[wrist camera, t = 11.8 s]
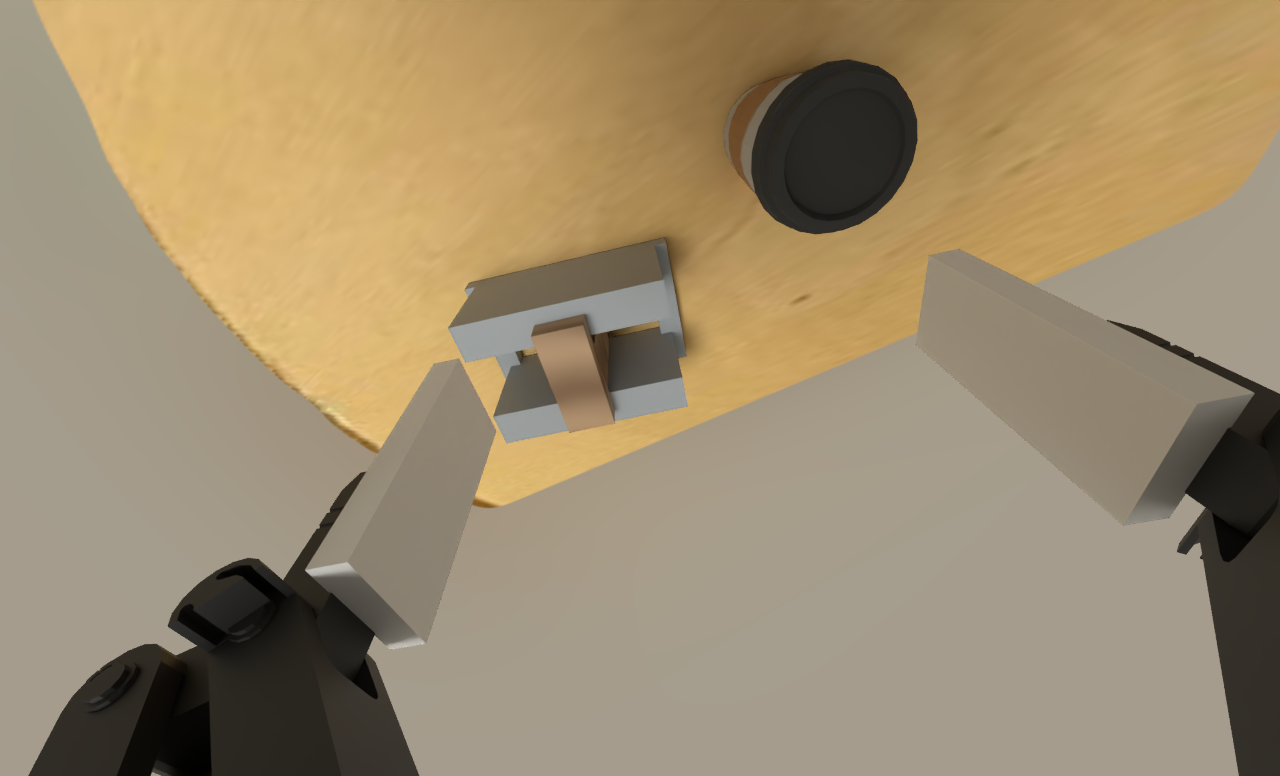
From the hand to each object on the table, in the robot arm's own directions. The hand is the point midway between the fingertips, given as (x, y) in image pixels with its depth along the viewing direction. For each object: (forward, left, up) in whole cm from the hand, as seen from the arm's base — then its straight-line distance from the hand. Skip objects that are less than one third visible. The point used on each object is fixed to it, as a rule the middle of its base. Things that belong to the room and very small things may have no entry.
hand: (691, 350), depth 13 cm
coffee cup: (-1, +10, -29) cm, 31 cm away
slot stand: (+11, -8, -29) cm, 32 cm away
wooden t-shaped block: (+11, -8, -27) cm, 30 cm away
